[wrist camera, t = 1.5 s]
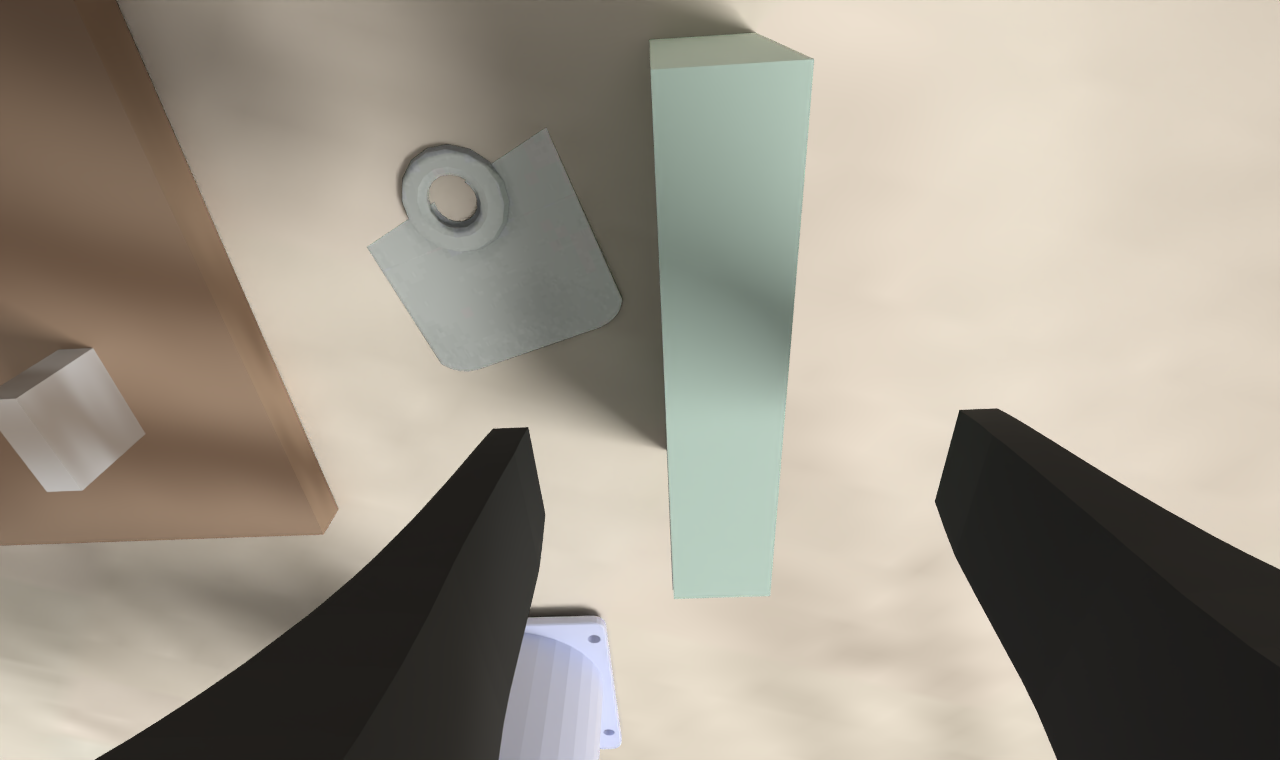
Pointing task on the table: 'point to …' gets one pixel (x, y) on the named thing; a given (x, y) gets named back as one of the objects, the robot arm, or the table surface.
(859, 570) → the table surface
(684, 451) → the door panel
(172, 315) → the cabinet base
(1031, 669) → the robot arm
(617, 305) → the mounting bracket
